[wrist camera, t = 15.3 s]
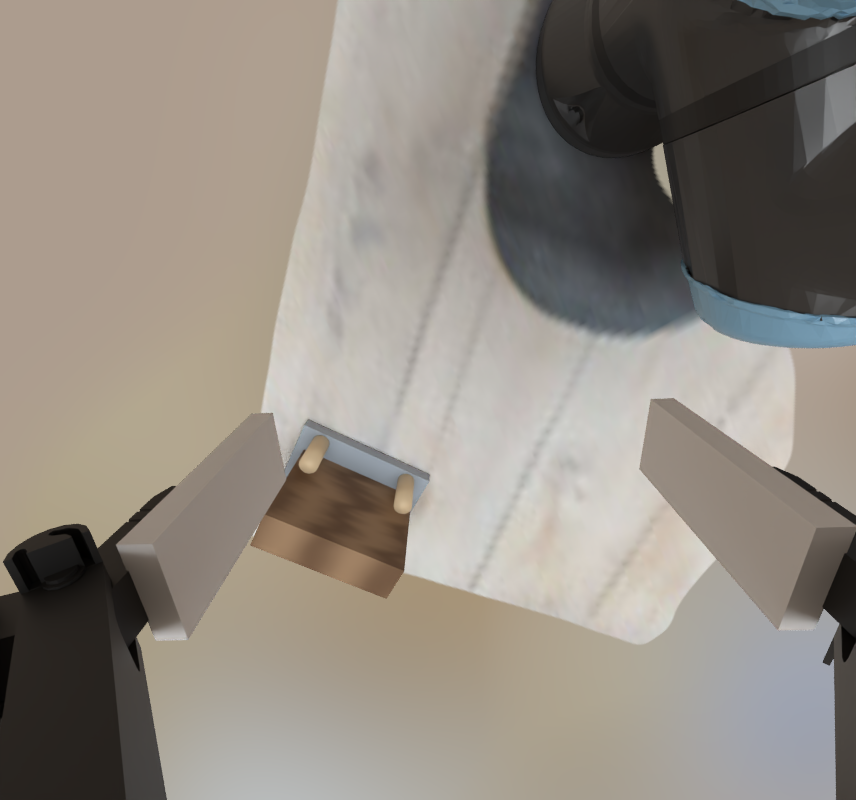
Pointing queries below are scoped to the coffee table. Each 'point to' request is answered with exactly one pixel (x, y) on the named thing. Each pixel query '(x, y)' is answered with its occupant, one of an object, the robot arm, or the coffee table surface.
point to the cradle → (358, 463)
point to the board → (337, 527)
